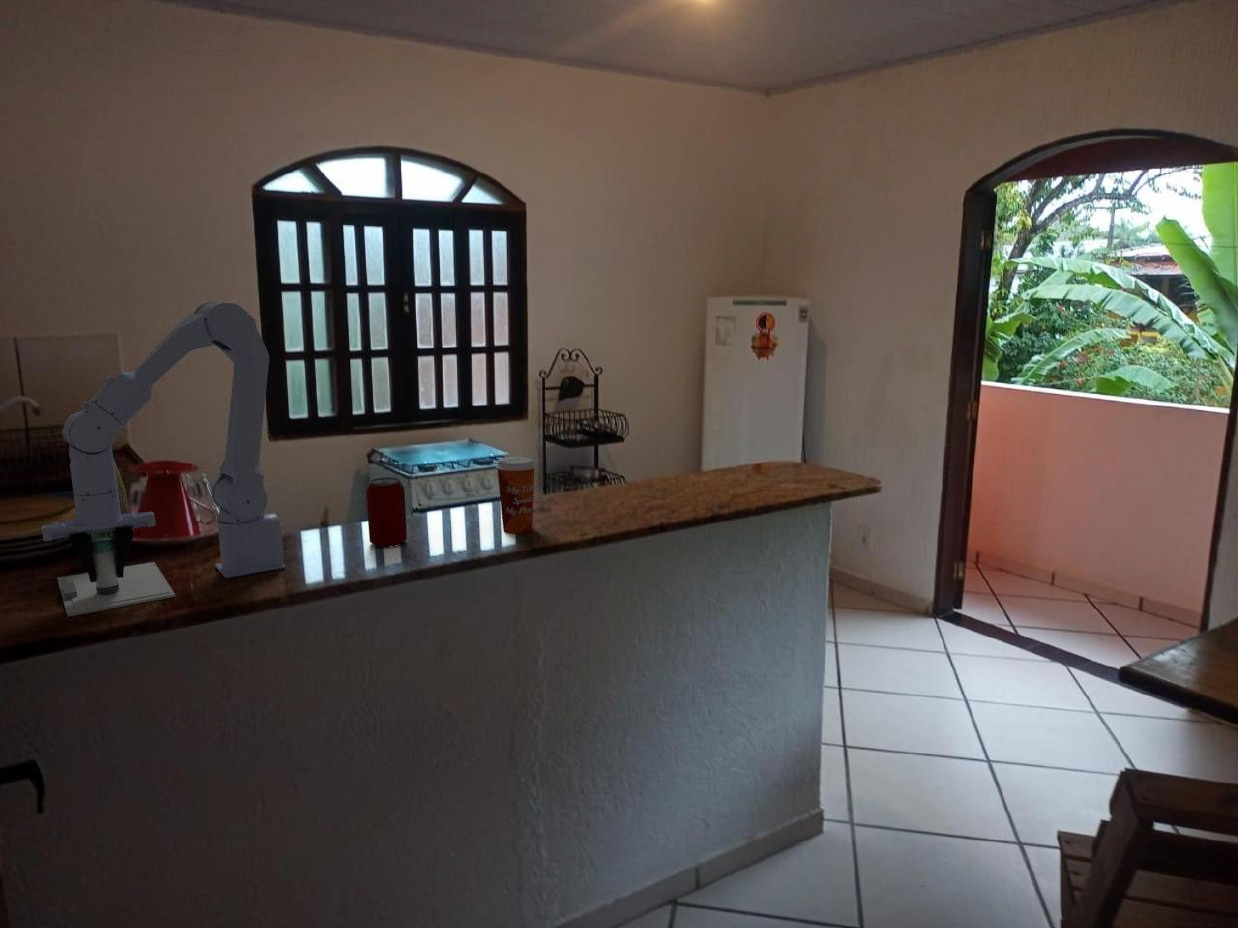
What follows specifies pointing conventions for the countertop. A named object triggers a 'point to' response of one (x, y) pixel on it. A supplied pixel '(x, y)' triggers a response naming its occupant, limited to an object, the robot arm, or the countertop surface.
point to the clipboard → (133, 589)
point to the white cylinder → (105, 565)
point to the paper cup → (516, 493)
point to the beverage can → (386, 512)
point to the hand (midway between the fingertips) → (106, 578)
